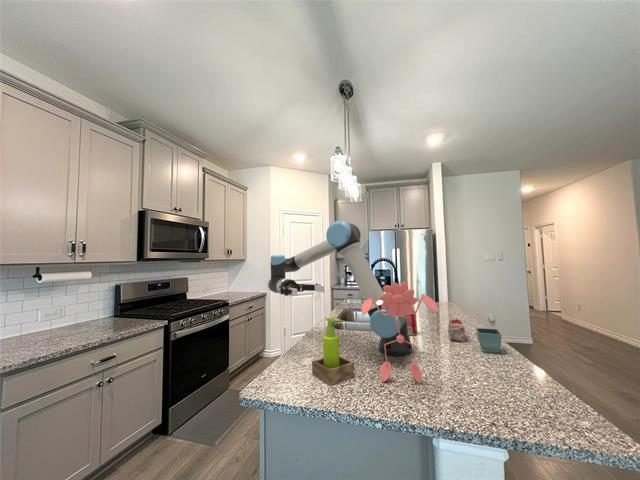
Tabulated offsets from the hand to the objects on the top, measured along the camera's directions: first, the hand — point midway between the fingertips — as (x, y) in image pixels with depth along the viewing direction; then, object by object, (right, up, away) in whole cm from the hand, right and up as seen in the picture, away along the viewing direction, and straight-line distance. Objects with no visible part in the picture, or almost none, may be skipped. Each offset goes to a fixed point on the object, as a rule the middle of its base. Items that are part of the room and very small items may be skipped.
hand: (310, 290), depth 116 cm
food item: (+75, -30, +26) cm, 85 cm away
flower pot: (+80, -29, +7) cm, 85 cm away
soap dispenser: (+9, -28, -14) cm, 33 cm away
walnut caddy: (+9, -29, -14) cm, 33 cm away
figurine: (+32, -28, -23) cm, 48 cm away
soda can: (+54, -31, +36) cm, 72 cm away
